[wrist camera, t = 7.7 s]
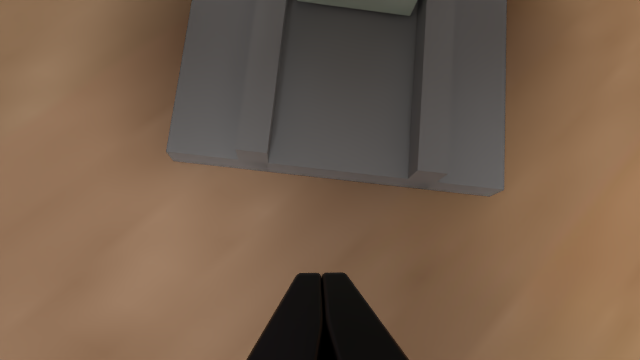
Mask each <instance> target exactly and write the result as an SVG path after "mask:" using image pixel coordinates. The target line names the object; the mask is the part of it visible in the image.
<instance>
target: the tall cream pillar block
mask: <svg viewBox="0 0 640 360" xmlns="http://www.w3.org/2000/svg"><path fill="white" fill-rule="evenodd" d="M297 1H301V2H308V3H316V4H323V5H331V6H338V7H346V8H353V9H361V10H369V11H376V12H384V13H391V14H399V15H406V16H410V15H411V13H412V11H413V9H414V6H415V4H416V2H417V0H297Z"/></svg>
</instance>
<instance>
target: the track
mask: <svg viewBox="0 0 640 360" xmlns="http://www.w3.org/2000/svg"><path fill="white" fill-rule="evenodd" d="M506 14H507V0H417V2H416V4H415V6H414V9H413V11H412V13H411V15H410V16H406V15H399V14H391V13H384V12H376V11H369V10H361V9H353V8H346V7H338V6H331V5H323V4H316V3H308V2H301V1H297V0H192V3H191V9H190V15H189V21H188V26H187V32H186V38H185V44H184V50H183V56H182V62H181V67H180V73H179V79H178V85H177V91H176V97H175V102H174V108H173V114H172V120H171V126H170V132H169V137H168V143H167V149H166V152H167V153H168V155H169V156H170V157H171V158H172V160H173V161H178V162H187V163H196V164H205V165H214V166H223V167H232V168H241V169H250V170H258V171H267V172H276V173H285V174H294V175H303V176H312V177H321V178H330V179H339V180H347V181H356V182H365V183H374V184H383V185H392V186H401V187H410V188H419V189H427V190H436V191H445V192H454V193H463V194H472V195H481V196H492V195H494V194H496V193H498V192H500V191H503V190H504V157H505V86H506Z"/></svg>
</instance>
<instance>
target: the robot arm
mask: <svg viewBox="0 0 640 360" xmlns="http://www.w3.org/2000/svg"><path fill="white" fill-rule="evenodd" d="M247 360H409V359H408V358H407V356H406V355H405V354H404V352H403V351H402V350H401V348H400V347H399V346H398V344H397V343H396V341H395V340H394V339H393V337H392V336H391V335H390V333H389V332H388V331H387V329H386V328H385V326H384V325H383V324H382V322H381V321H380V320H379V318H378V317H377V316H376V314H375V313H374V311H373V310H372V309H371V307H370V306H369V305H368V303H367V302H366V301H365V299H364V298H363V296H362V295H361V294H360V292H359V291H358V290H357V288H356V287H355V286H354V284H353V283H352V281H351V280H350V279H349V277H348V276H347V275H346V274H345V273H324V274H323V275H322V278H321V275H320V274H319V273H299V274H297V276H296V277H295V279H294V280H293V282H292V284H291V285H290V287H289V289H288V290H287V292H286V294H285V295H284V297H283V299H282V301H281V302H280V304H279V306H278V307H277V309H276V311H275V312H274V314H273V316H272V317H271V319H270V321H269V322H268V324H267V326H266V327H265V329H264V331H263V333H262V334H261V336H260V338H259V339H258V341H257V343H256V344H255V346H254V348H253V349H252V351H251V353H250V354H249V356H248V358H247Z"/></svg>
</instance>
